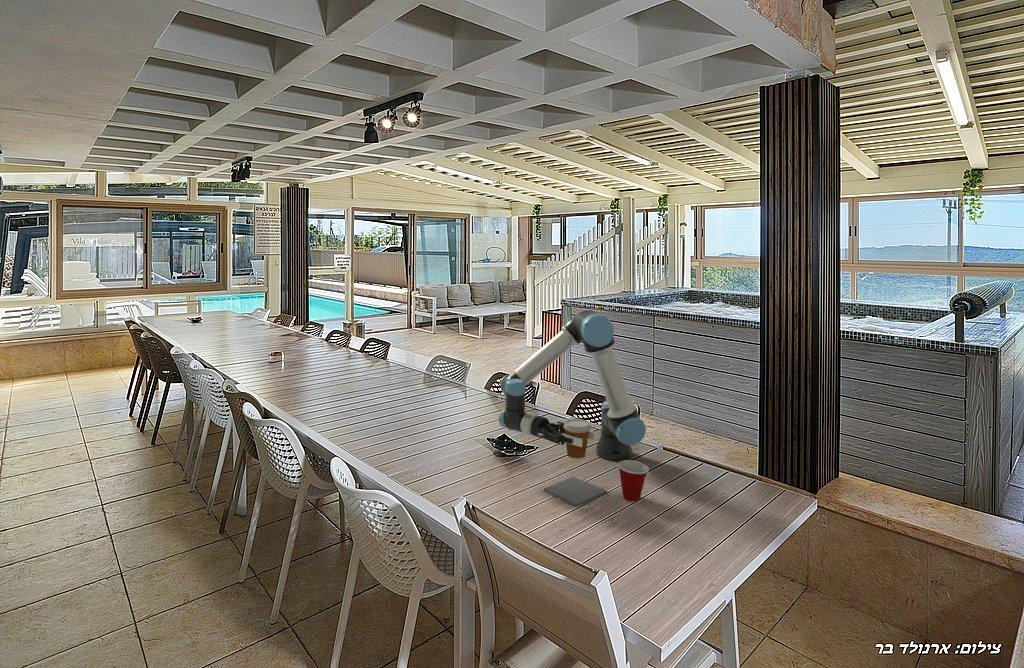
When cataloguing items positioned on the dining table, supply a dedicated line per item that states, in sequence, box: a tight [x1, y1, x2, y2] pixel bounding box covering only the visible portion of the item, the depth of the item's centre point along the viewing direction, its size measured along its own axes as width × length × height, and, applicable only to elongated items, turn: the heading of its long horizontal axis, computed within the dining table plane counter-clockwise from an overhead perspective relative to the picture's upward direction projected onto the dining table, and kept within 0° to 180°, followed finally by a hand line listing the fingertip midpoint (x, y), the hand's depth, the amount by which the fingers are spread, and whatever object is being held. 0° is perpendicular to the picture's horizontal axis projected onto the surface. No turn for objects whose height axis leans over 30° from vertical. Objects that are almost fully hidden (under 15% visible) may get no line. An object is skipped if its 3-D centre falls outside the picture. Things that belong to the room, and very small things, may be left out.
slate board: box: [543, 476, 608, 507], centre depth 205 cm, size 16×16×1 cm
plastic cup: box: [617, 459, 650, 502], centre depth 200 cm, size 11×11×12 cm
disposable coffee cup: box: [564, 418, 592, 459], centre depth 201 cm, size 10×10×12 cm
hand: (588, 439), depth 198 cm, fingers closed on disposable coffee cup, 8 cm apart
